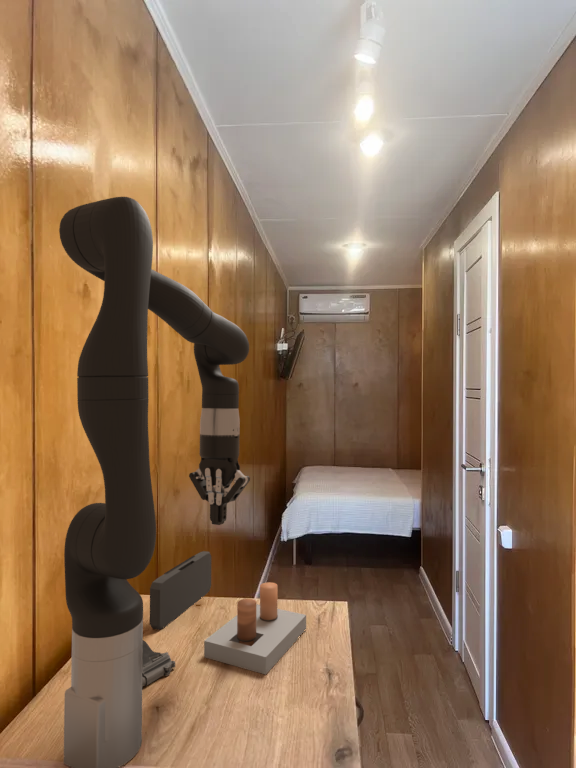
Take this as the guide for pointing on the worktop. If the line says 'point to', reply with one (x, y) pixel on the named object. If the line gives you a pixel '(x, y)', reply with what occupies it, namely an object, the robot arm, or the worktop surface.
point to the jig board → (258, 635)
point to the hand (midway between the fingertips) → (218, 523)
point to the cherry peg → (246, 621)
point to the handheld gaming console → (179, 589)
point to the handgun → (154, 665)
